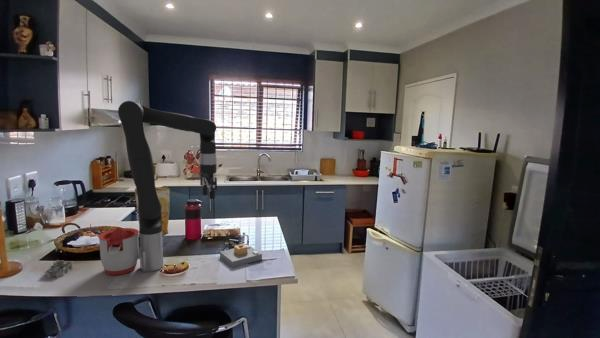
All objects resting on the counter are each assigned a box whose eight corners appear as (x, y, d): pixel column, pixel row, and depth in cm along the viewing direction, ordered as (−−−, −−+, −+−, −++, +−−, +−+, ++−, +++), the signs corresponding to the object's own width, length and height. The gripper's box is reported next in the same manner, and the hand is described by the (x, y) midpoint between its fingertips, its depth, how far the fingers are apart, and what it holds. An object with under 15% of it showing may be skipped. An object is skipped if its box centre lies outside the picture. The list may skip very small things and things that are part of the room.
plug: (238, 261, 157) (238, 247, 156) (234, 257, 160) (234, 244, 159) (247, 258, 160) (247, 245, 159) (243, 255, 163) (243, 242, 162)
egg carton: (58, 267, 145) (58, 258, 145) (76, 267, 146) (75, 258, 145) (42, 278, 135) (41, 269, 134) (61, 278, 135) (60, 269, 135)
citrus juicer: (94, 281, 133) (91, 235, 130) (106, 263, 149) (104, 222, 146) (135, 277, 137) (133, 233, 134) (143, 260, 154) (141, 220, 151)
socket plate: (232, 267, 149) (232, 260, 149) (219, 257, 160) (219, 250, 160) (261, 259, 159) (261, 252, 159) (248, 250, 170) (248, 243, 169)
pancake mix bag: (138, 232, 192) (136, 186, 188) (171, 230, 197) (170, 186, 193) (135, 236, 186) (132, 189, 182) (169, 234, 190) (168, 188, 186)
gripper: (194, 161, 152) (195, 194, 154) (206, 165, 141) (206, 201, 143) (209, 160, 157) (210, 193, 159) (222, 164, 146) (222, 198, 148)
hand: (208, 196), depth 151 cm, fingers open, 8 cm apart
